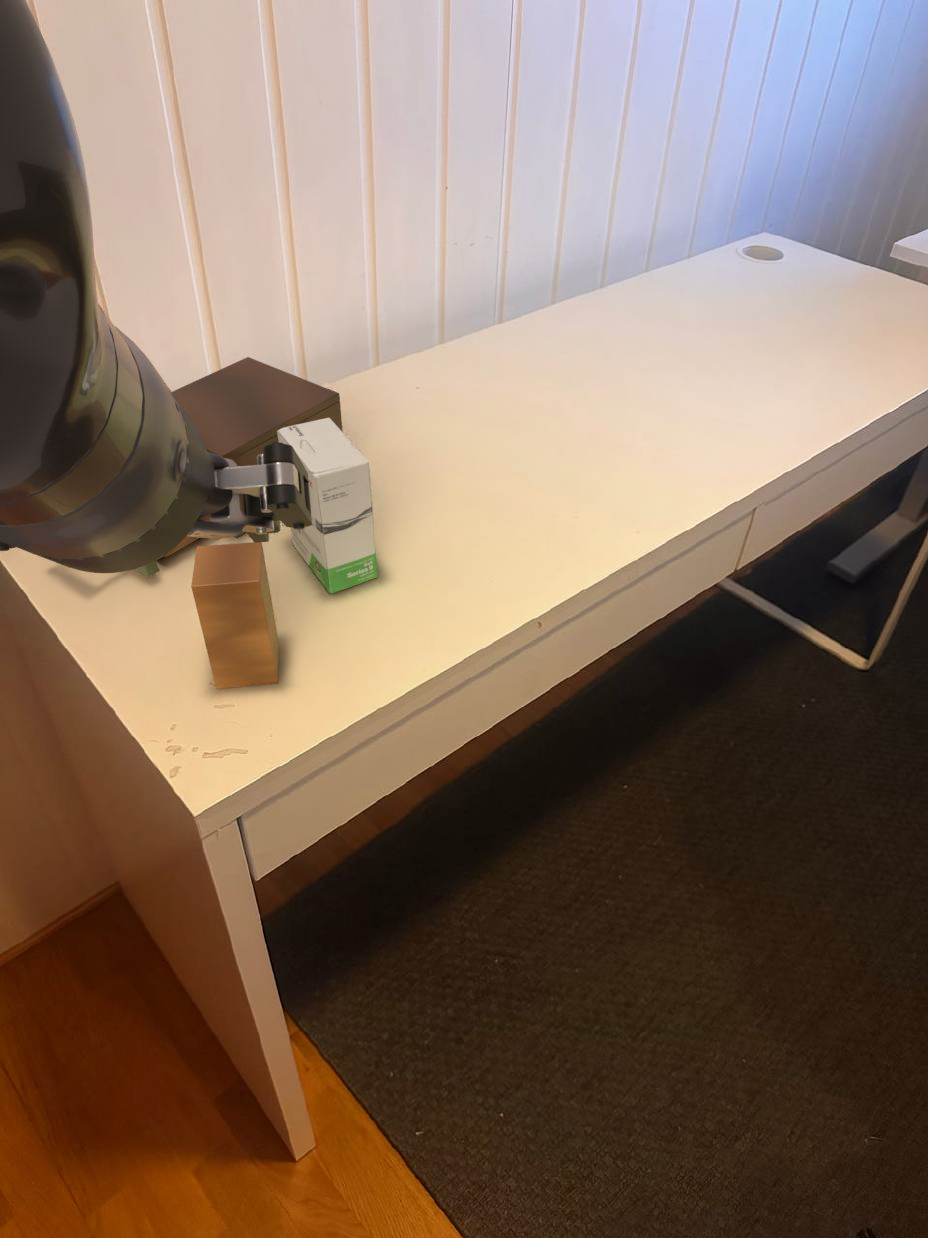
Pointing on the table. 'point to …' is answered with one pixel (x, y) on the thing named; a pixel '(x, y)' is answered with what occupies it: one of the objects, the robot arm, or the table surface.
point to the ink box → (334, 505)
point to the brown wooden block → (236, 614)
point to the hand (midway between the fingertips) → (175, 528)
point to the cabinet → (252, 408)
